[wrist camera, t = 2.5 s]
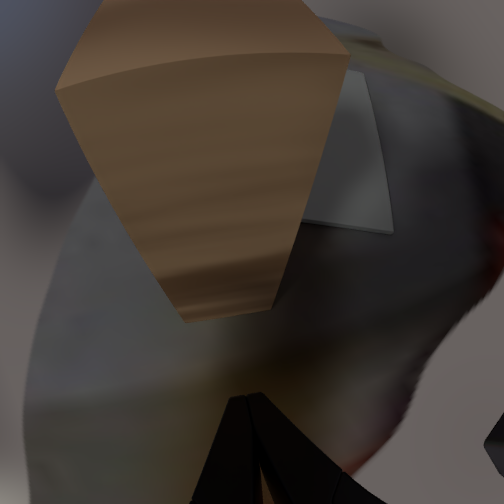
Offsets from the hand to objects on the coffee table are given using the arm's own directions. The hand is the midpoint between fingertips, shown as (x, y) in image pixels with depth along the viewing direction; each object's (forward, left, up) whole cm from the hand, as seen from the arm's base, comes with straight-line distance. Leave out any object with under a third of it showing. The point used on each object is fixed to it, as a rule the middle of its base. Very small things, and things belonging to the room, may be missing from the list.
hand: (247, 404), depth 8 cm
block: (+6, +2, -8) cm, 10 cm away
